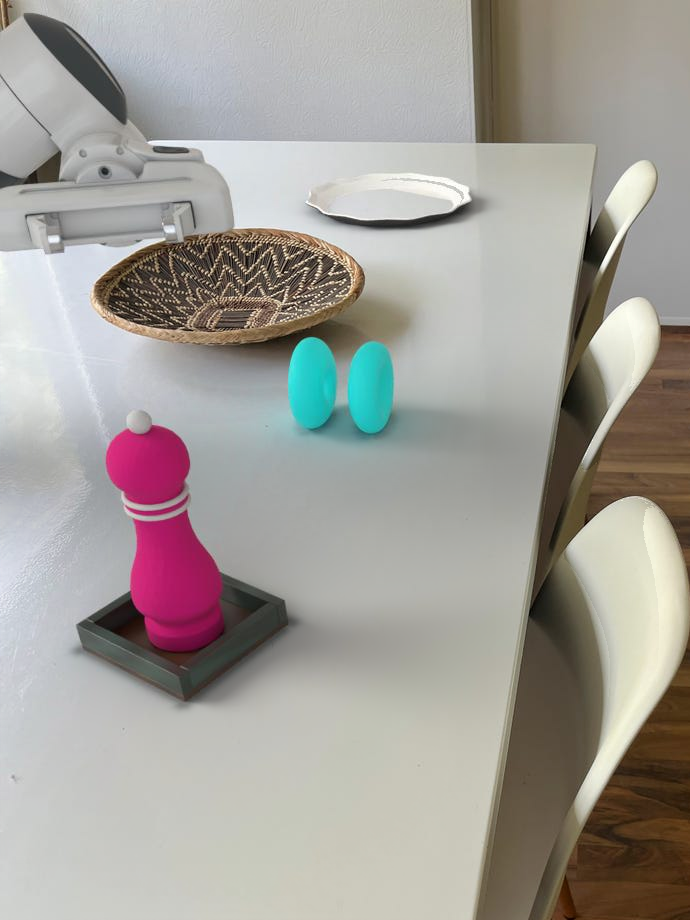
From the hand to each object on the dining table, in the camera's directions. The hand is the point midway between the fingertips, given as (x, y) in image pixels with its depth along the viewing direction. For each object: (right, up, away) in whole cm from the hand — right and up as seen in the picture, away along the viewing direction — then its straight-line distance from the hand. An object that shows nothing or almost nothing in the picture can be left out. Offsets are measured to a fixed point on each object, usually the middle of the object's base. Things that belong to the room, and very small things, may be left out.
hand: (113, 238), depth 82 cm
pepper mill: (+5, -32, +4) cm, 32 cm away
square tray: (+5, -32, +4) cm, 33 cm away
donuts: (+14, -8, +35) cm, 39 cm away
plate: (+13, +45, +102) cm, 113 cm away
